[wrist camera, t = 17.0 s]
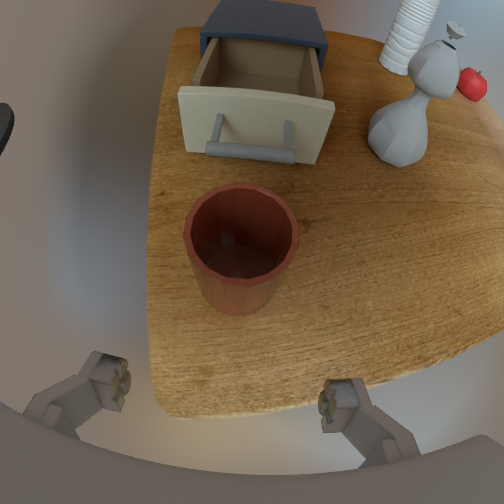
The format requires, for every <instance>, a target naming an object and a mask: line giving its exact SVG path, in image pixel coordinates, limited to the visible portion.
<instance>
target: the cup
mask: <svg viewBox="0 0 504 504" xmlns="http://www.w3.org/2000/svg"><path fill="white" fill-rule="evenodd" d="M183 237H184V241H185V245H186V249H187V253H188V256H189V259H190V262H191V265H192V268H193V271H194V273H195V276H196V279H197V282H198V284H199V287H200V290H201V292H202V295H203V296H204V298H205V299H206V301H207V302H208V303H209V304H210V305H211V306H212V307H213V308H214V309H216V310H217V311H219V312H221V313H223V314H226V315H230V316H246V315H250V314H252V313H255V312H257V311H259V310H260V309H261V308H263V307H264V306H265V305H266V304H267V303H268V302H269V301H270V299H271V298H272V296H273V294H274V292H275V291H276V289H277V287H278V285H279V283H280V282H281V280H282V278H283V276H284V274H285V273H286V271H287V269H288V267H289V265H290V263H291V261H292V259H293V257H294V255H295V253H296V251H297V249H298V246H299V225H298V223H297V221H296V218H295V216H294V214H293V212H292V209H291V208H290V206H289V205H288V204H287V203H286V202H285V201H284V200H283V199H282V198H280V197H279V196H278V195H277V194H276V193H275V192H272V191H270V190H268V189H266V188H264V187H261V186H259V185H256V184H246V183H232V184H228V185H223V186H219V187H216V188H214V189H213V190H211V191H209V192H208V193H206V194H205V195H203V196H202V197H200V198H199V199H198V200H197V202H196V203H195V205H194V206H193V207H192V209H191V210H190V212H189V213H188V215H187V218H186V223H185V228H184V233H183Z"/></svg>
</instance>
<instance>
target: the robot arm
mask: <svg viewBox="0 0 504 504" xmlns="http://www.w3.org/2000/svg"><path fill="white" fill-rule="evenodd" d="M127 367H128V362H127V360H126V359H124V358H120V357H116V356H112V355H108V354H105V353H100V352H97V351H93V352H92V353H91V354H90V356H89V358H88V359H87V361H86V362H85V364H84V366H83V367H82V369H81V370H80V372H79V374H78V375H73V376H71V377H69V378H67V379H65V380H64V381H61V382H60V383H57V384H55V385H53V386H51V387H49V388H47V389H45V390H43V391H41V392H39V393H37V394H35V395H34V397H33V398H32V400H31V401H30V403H29V405H28V406H27V408H26V409H25V411H24V413H23V414H21V413H19V412H17V411H15V410H13V409H12V408H10V407H8V406H6V405H5V404H3V403H1V402H0V504H504V447H503V446H502V445H500V444H499V443H498V442H496V441H494V440H493V439H491V438H490V437H488V436H486V435H477V436H474V437H472V438H470V439H467V440H464V441H462V442H459V443H456V444H454V445H451V446H448V447H445V448H442V449H439V450H436V451H433V452H430V453H426V454H423V455H421V454H420V451H419V449H418V446H417V444H416V441H415V439H414V436H413V434H412V433H411V432H410V431H408V430H407V429H405V428H404V427H403V426H402V425H400V424H399V423H398V422H396V421H395V420H394V419H392V418H391V417H390V416H388V415H387V414H385V412H383V411H382V410H381V409H379V408H378V407H377V406H372V403H371V401H370V398H369V395H368V393H367V390H366V388H365V385H364V382H363V380H362V379H361V378H350V379H349V378H346V379H327V380H326V381H325V383H324V390H323V391H322V392H321V393H320V396H319V400H318V409H319V413H320V414H321V415H322V416H323V417H322V419H321V423H322V429H323V433H335V432H342V433H343V434H344V436H345V437H346V438H347V439H348V440H349V441H350V442H351V443H352V444H353V445H354V447H355V448H356V449H357V450H358V451H359V452H360V453H361V454H362V455H363V456H364V457H365V458H366V460H365V461H364V463H363V464H362V465H361V466H360V467H359V468H358V469H353V470H346V471H338V472H328V473H318V474H301V475H247V474H246V475H245V474H231V473H220V472H210V471H202V470H195V469H187V468H181V467H175V466H170V465H165V464H160V463H155V462H151V461H147V460H142V459H138V458H134V457H131V456H127V455H123V454H120V453H116V452H113V451H109V450H106V449H103V448H100V447H97V446H94V445H92V444H89V443H86V442H83V441H81V440H80V438H79V436H78V435H77V433H76V432H75V429H76V428H77V427H79V426H80V425H82V424H83V423H84V422H85V421H87V420H88V419H90V418H91V417H92V416H94V415H95V414H96V413H98V412H99V411H100V410H101V409H102V408H105V409H109V410H113V411H117V412H121V409H122V407H123V404H124V402H125V399H124V395H126V394H127V393H128V392H129V389H130V385H131V375H130V372H129V371H128V370H127Z"/></svg>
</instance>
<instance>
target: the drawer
mask: <svg viewBox="0 0 504 504" xmlns="http://www.w3.org/2000/svg"><path fill="white" fill-rule="evenodd" d="M192 85H193V86H181V87H180V89H179V91H178V93H177V94H178V101H179V108H180V115H181V122H182V129H183V136H184V142H185V148H186V152H197V153H205V154H206V156H217V157H230V158H241V159H251V160H261V161H270V162H278V163H286V164H294V163H295V162H298V163H305V164H312V165H315V163H316V160H317V157H318V155H319V152H320V150H321V147H322V144H323V142H324V139H325V136H326V134H327V131H328V128H329V126H330V123H331V120H332V118H333V115H334V112H335V105H334V102H332V101H328V100H323V96H324V89H323V84H322V79H321V74H320V69H319V64H318V60H317V55H316V51H315V48H314V47H309V46H304V45H298V44H291V43H284V42H277V41H269V40H259V39H247V38H231V37H212V39H211V41H210V43H209V45H208V47H207V49H206V51H205V53H204V55H203V57H202V60H201V62H200V64H199V66H198V68H197V70H196V73H195V75H194V77H193V79H192Z"/></svg>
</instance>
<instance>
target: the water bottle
mask: <svg viewBox="0 0 504 504" xmlns="http://www.w3.org/2000/svg"><path fill="white" fill-rule="evenodd" d="M440 2H441V0H402V1H401V4H400V6H399V9H398V12H397V14H396V16H395V21H394V22H393V24H392V29H390V32H389V36H388V37H387V39H386V43H385V45H384V47H383V51H382V52H381V54H380V57H379V62H380V64H381V65H382V66H383V67H385V68H386V69H388V70H389V71H391V72H393V73H397V74H398V75H402V76H403V75H404V76H405V75H407V74H408V71H407V68H408V63H409V62H410V60H411V58H412V57H413V56H414V55H415V54H416V53H417V52H418V51H419V48H420V47H421V43H422V42H423V41H424V38H425V35H426V34H427V32H428V29H429V26H430V25H431V24H430V23H431V22H432V20H433V17H434V16H435V13H436V10H437V7H438V6H439V4H440Z"/></svg>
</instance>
